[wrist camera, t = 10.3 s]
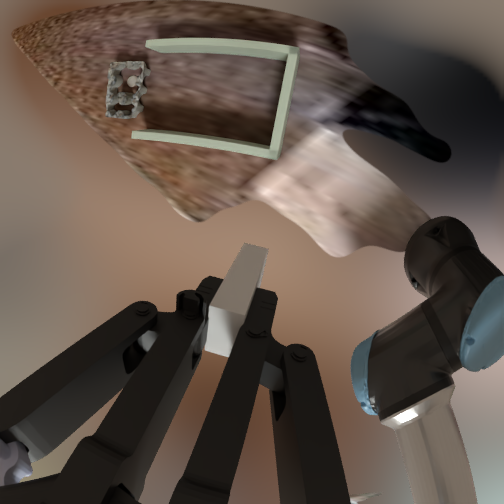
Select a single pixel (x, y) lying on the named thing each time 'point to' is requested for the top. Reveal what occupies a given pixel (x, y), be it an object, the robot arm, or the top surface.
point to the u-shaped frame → (234, 48)
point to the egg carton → (125, 97)
